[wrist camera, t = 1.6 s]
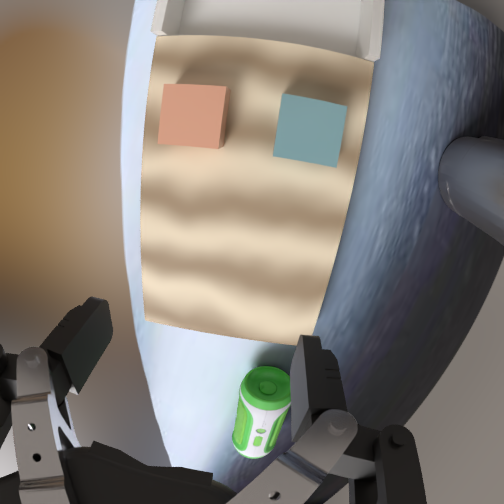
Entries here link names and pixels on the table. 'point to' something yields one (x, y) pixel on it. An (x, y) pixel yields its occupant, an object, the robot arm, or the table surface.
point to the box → (280, 22)
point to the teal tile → (309, 130)
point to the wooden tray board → (246, 191)
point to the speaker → (261, 410)
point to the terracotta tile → (194, 115)
